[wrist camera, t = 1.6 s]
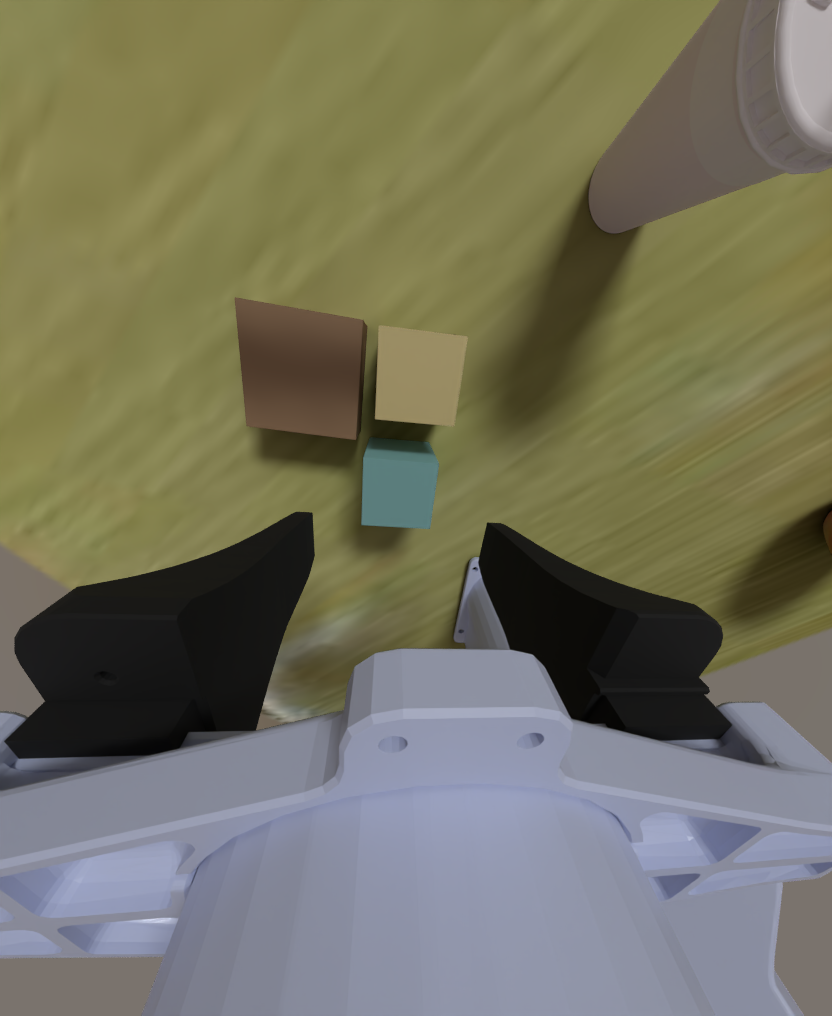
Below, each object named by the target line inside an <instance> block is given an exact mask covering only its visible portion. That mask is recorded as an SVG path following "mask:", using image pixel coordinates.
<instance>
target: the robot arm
mask: <svg viewBox="0 0 832 1016" xmlns="http://www.w3.org/2000/svg"><path fill="white" fill-rule="evenodd" d="M314 556H315V554H314V534H313V515H312V513H310V512H295V513H293V514H291V515H289V516H287V517H285V518H284V519H282V520H280V521H278V522H277V523H275V524H273V525H271V526H270V527H268V528H266V529H264V530H263V531H261V532H259V533H257V534H255V535H253V536H251V537H249V538H247V539H245V540H243V541H241V542H239V543H237V544H235V545H232V546H230V547H228V548H225V549H223V550H220V551H218V552H215V553H213V554H210V555H207V556H204V557H201V558H198V559H195V560H192V561H189V562H186V563H183V564H180V565H177V566H173V567H169V568H166V569H162V570H158V571H154V572H150V573H146V574H142V575H137V576H133V577H128V578H123V579H118V580H113V581H107V582H102V583H97V584H91V585H86V586H80V587H76V588H75V589H73V590H72V591H71V592H69V593H68V594H66V595H65V596H64V597H62V598H61V599H59V600H58V601H57V602H55V603H54V604H53V605H51V606H50V607H48V608H47V609H46V610H44V611H43V612H41V613H40V614H39V615H37V616H36V617H34V618H33V619H32V620H30V621H29V622H27V623H26V624H25V625H23V626H22V627H20V629H19V631H18V633H17V634H16V636H15V654H16V656H17V659H18V661H19V663H20V665H21V666H22V668H23V669H24V671H25V672H26V674H27V675H28V677H29V678H30V679H31V681H32V682H33V684H34V685H35V687H36V688H37V690H38V691H39V693H40V694H41V696H42V697H43V699H44V700H45V702H44V703H43V704H42V705H41V706H40V707H39V708H38V709H37V710H36V711H35V712H34V713H33V714H32V715H30V716H29V717H26V716H25V715H22V714H20V713H16V712H9V711H0V958H70V957H71V958H72V957H73V958H76V957H164V958H163V960H162V963H161V966H160V968H159V971H158V974H157V976H156V978H155V981H154V984H153V986H152V989H151V991H150V994H149V997H148V999H147V1002H146V1004H145V1007H144V1010H143V1012H142V1015H141V1016H804V1015H803V1013H802V1011H801V1010H800V1008H799V1007H798V1005H797V1004H796V1003H795V1001H794V999H793V998H792V996H791V995H790V993H789V992H788V990H787V989H786V987H785V986H784V984H783V983H782V981H781V980H780V978H779V977H778V975H777V974H776V972H775V971H774V958H775V948H776V940H777V931H778V922H779V914H780V905H781V897H782V889H783V882H790V881H798V880H807V879H817V878H820V877H821V876H823V875H825V874H827V873H829V872H831V871H832V763H831V762H830V761H829V760H828V759H827V758H826V757H824V756H823V755H822V754H821V753H820V752H819V751H818V750H817V749H816V748H814V747H813V746H812V745H811V744H810V743H809V742H808V741H806V739H804V738H803V737H802V736H801V735H800V734H799V733H798V732H797V731H796V730H795V729H793V728H792V727H791V726H790V725H789V724H788V723H787V722H786V721H785V720H783V719H782V718H781V717H780V716H779V715H778V714H777V713H776V712H775V711H773V710H772V709H771V708H770V707H769V706H768V705H767V704H766V703H763V702H727V703H722V704H720V705H718V706H716V707H715V706H714V705H713V704H712V703H711V702H710V701H709V699H708V698H706V696H705V695H704V694H708V693H709V692H710V691H709V687H708V686H707V685H706V684H705V683H704V682H703V681H702V680H701V679H700V678H699V676H700V675H701V673H702V672H703V671H704V669H705V668H706V667H707V665H708V664H709V663H710V662H711V660H712V659H713V658H714V656H715V655H716V653H717V652H718V650H719V648H720V647H721V643H722V639H723V633H722V628H721V626H720V625H719V624H718V622H717V621H716V620H715V619H713V618H712V617H711V616H710V615H708V614H707V613H706V612H704V611H703V610H702V609H701V608H699V607H698V606H696V605H694V604H691V603H687V602H683V601H679V600H675V599H671V598H667V597H663V596H659V595H655V594H652V593H648V592H645V591H642V590H639V589H635V588H632V587H629V586H626V585H623V584H620V583H617V582H614V581H612V580H609V579H606V578H604V577H601V576H599V575H596V574H594V573H591V572H589V571H587V570H584V569H582V568H580V567H578V566H576V565H574V564H572V563H569V562H567V561H565V560H563V559H562V558H560V557H558V556H556V555H554V554H552V553H551V552H549V551H547V550H545V549H544V548H542V547H540V546H539V545H537V544H535V543H534V542H532V541H531V540H529V539H527V538H526V537H524V536H523V535H521V534H519V533H518V532H516V531H515V530H513V529H511V528H509V527H508V526H506V525H504V524H501V523H487V526H486V530H485V535H484V539H483V543H482V548H481V552H480V556H479V557H474V558H472V559H471V560H470V561H469V566H468V570H467V575H466V580H465V584H464V589H463V594H462V598H461V603H460V608H459V612H458V617H457V622H456V626H455V631H454V636H453V638H454V641H455V642H458V643H465V646H466V649H438V648H399V649H393V650H387V651H382V652H377V653H375V654H373V655H372V656H370V657H369V658H367V659H366V660H364V661H363V662H361V663H360V664H358V665H356V666H355V667H354V670H353V672H352V674H351V677H350V679H349V682H348V685H347V692H346V700H345V707H344V710H342V711H337V712H333V713H329V714H324V715H320V716H316V717H312V718H307V719H303V720H299V721H295V722H290V723H286V724H282V725H277V726H273V727H269V728H265V729H261V730H256V728H257V724H258V720H259V716H260V713H261V709H262V706H263V702H264V698H265V695H266V691H267V688H268V684H269V681H270V677H271V674H272V671H273V667H274V664H275V661H276V657H277V654H278V651H279V648H280V645H281V642H282V639H283V636H284V633H285V630H286V628H287V625H288V622H289V620H290V618H291V616H292V614H293V611H294V609H295V607H296V605H297V602H298V600H299V598H300V596H301V593H302V591H303V589H304V587H305V584H306V582H307V580H308V577H309V574H310V571H311V567H312V564H313V560H314ZM474 567H477V568H476V569H473V568H474ZM460 629H462V630H460Z"/></svg>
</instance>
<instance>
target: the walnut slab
mask: <svg viewBox="0 0 832 1016" xmlns="http://www.w3.org/2000/svg"><path fill="white" fill-rule="evenodd" d="M235 306H236V317H237V328H238V339H239V349H240V360H241V371H242V382H243V392H244V403H245V414H246V424H247V426H250V427H258V428H265V429H273V430H281V431H289V432H297V433H305V434H313V435H320V436H328V437H336V438H344V439H352V440H356V439H357V437H358V435H359V433H360V431H361V417H362V401H363V386H364V371H365V356H366V340H367V325H366V324H365V322H364V321H363V320H360V319H354V318H349V317H343V316H337V315H332V314H326V313H320V312H315V311H309V310H303V309H298V308H292V307H286V306H281V305H275V304H269V303H264V302H258V301H252V300H247V299H241V298H235Z"/></svg>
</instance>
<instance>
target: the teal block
mask: <svg viewBox="0 0 832 1016" xmlns="http://www.w3.org/2000/svg"><path fill="white" fill-rule="evenodd" d="M438 467H439V463H438V461H437V458H436V456H435V454H434V452H433V450H432V448H431V446H430V444H429V442H420V441H408V440H397V439H385V438H374V437H370V439H369V442H368V445H367V448H366V451H365V454H364V457H363V488H362V524H361V525H369V526H387V527H405V528H423V529H430V524H431V517H432V510H433V503H434V496H435V489H436V481H437V474H438Z"/></svg>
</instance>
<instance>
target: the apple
mask: <svg viewBox="0 0 832 1016" xmlns="http://www.w3.org/2000/svg"><path fill="white" fill-rule="evenodd" d="M823 531H824V535H825V539H826V542H827V545H828V548H829V551H830V553H831V555H832V511H831V512H830V513H829V514H828V515H827V517H826V519H825V520H824V523H823Z"/></svg>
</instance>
